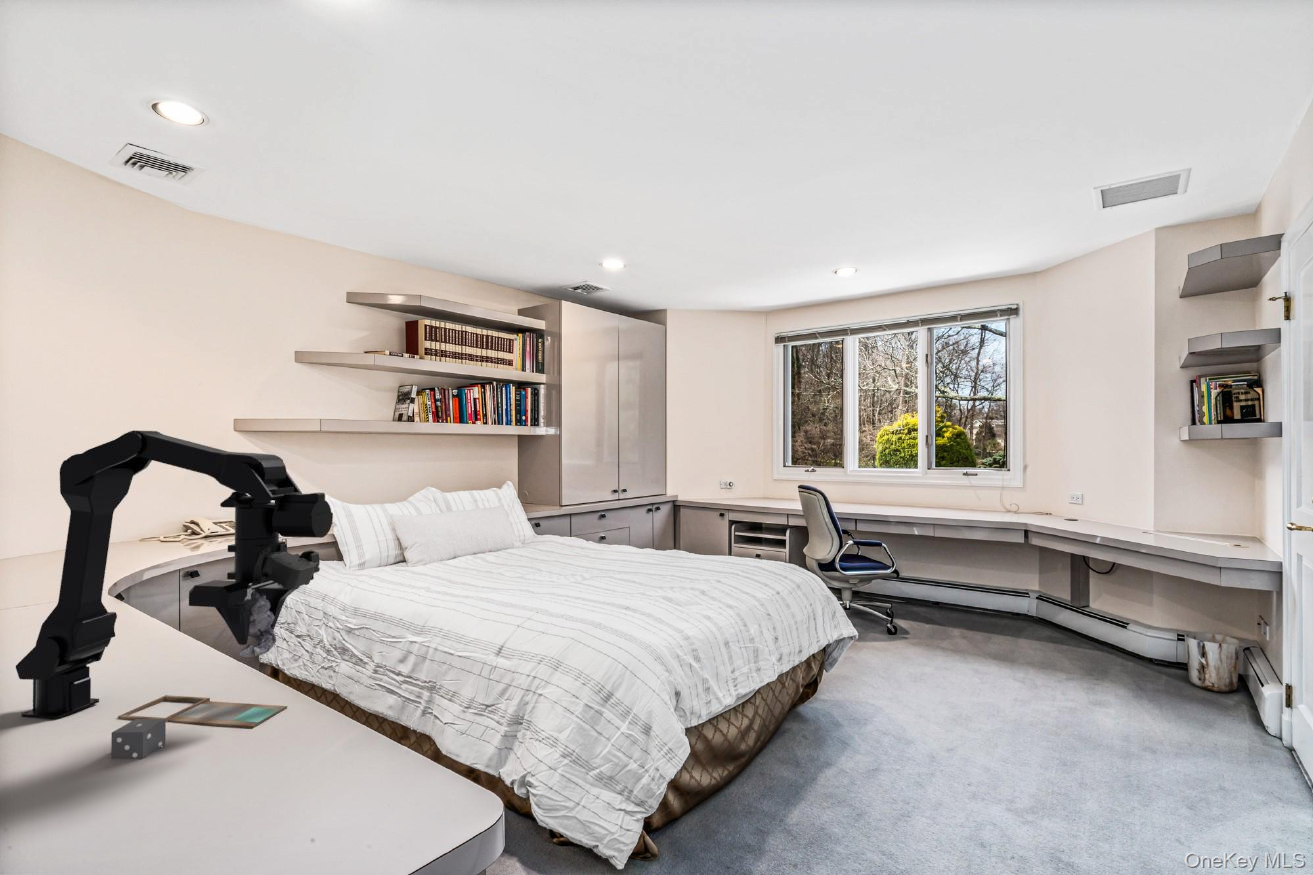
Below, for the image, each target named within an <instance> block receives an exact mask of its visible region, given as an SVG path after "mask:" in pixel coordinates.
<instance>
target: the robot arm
mask: <svg viewBox="0 0 1313 875" xmlns="http://www.w3.org/2000/svg"><path fill="white" fill-rule="evenodd" d="M152 461H153V462H158V463H160V464H161V463H162V464H165V465H167V466H168V465H170V466H172V467H177V468H180V469H185V470H187V471H191V472H195V473H198V474H199V473H200V474H203V475H206V476H209V477H210V478H211V477H212V478H213V479H214V480H215V481H217V482H218V483H219V485H221V486H223V487H225V488H228V489H230V490H232V492H231V493H230V495H229V497H227V498H226V499H224V500H223V501H221V502H220V504H219V506H220V507H221V508H232V509H233V508H234V543H233V544H232V543H231V544H228V545H227V553H234V562H233V563H234V565H233V566H234V570H232V571H229V572H227V574H226V575H227V576H226V579H227V580H222V579H221V580H216V579H214V580H211V581H210V580H209V581H207V582H203V583H199V584H195V585H194V586H193V587H192V588H191V589H190V590H189V591H188V606H189V607H199V608H200V607H201V608H203V607H206V608H215V609H216V611H217V613H218V614H219V615H220V616H221V618H222V619H223V620H224V622H225V624H226V625H227V627H228V629H229V630H230V632H231V634H232V635H233V637H234V639H235V641H236V642H237V644H238V645H240V646H241V645H242V646H245V645H248V641H249V636H248V635H249V624H250V611H251V609H252V608H253V606H254V605H255V604H256V603H257V602H258V601H259V599H251V593H252V591H253V590H255V591H256V592H257V593H258V594H259V593H262V594H264V595H265V596H266V600H268V601H269V603H270V606H271V607H270V609H269V610H270V611H271V612H272V613H273V615H274V617H275V618H274V621H273V623H272V624H271V625H270V626H271V629H273V631H274V630H275V628H276V624H277V622H278V619H279V616H280V614H281V612H282V609H283V607H284V604H285V603H286V599H287V598H288V597H290V595H292V593H294V592H295V591H296V590H298V589H299V588H300V587H301V586H308V585H309V584H310V583H311V581H312V580H314V579H315V577H314V575H315V574H316V573H319V572H320V570H321V569H320V563H321V562H320V553H319V551H315V550H314V549H308V550H305V551H303V552H302V553H300V554H299V553H291V552H288V545H287V543H286V541H285V540H284V541H281V540H280V536H281V537H283V538H314V539H315V538H325V536H327V535H328V533H329V532H330V531H331V528H332V525H333V520H334V514H333V512H332V508H331V506H330V503H329V502H328V501H327V500H326V494H325V492H312V493H302V491H301V489H300V488H299V487H298V485H297V483H295V481H294V479H293V478H292V477H291V475H290V474H289V473H288V471H287V467H286V465H285V464H286V463H285V462H284V459H282V458H281V457H280V456H278V455H276V454H269V453H255V452H239V451H238V452H237V451H227V450H224V449H220V448H216V447H213V446H209V445H205V444H200V443H196V442H193V441H189V440H186V439H181V438H178V437H175V436H174V437H173V436H170V435H166V434H164V433H161V432H159V431H157V430H129V431H127V432H125V433H123V434H122V435H120V436H119V437H117V438H115V439H111V440H110V441H108V442H105V443H102V444H99V445H97V446H95V447H91V448H90V449H89V448H88V449H87V450H85V451H84V452H82V453H75V454H73V455H71V456H69V457H68V458H67V459H64V460H63V461H62V463H61V464H60V468H59V492H60V495H61V497H62V499H63V500H64V502H65V504H66V505H67V507H68V508H69V510H70V515H69V522H68V528H67V529H68V530H67V535H66V536H67V537H66V544H65V552H64V559H63V565H62V566H63V567H62V573H61V579H60V588H59V593H58V595H59V596H58V602H57V604H56V606H55V607H54V608H53V609H52V611H51V612H50V614H49V615H48V616H47V617H46V619H45V620H44V621H43V622H42V624H41V626H40V629H39V633H38V636H37V639H36V642H35V646H34V647H33V648H32V649H31V650H30V651H29V652H28V653H27V654H26V655H25V656H24V657H23V658H22V659H21V660H20V661H19V662H18V663H17V664H16V665H15V670H16V673H17V676H18V678H19V680H27V681H28V680H30V681H31V680H32V708H31V709H29V710H26V711H24V712H21V716H20V717H21V718H22V717H23V718H32V719H33V718H34V719H48V720H49V719H50V720H58V719H61V718H63V717H66V716H68V715H71V714H74V713H77V712H78V711H81V710H84V709H86V708H88V707H90V706H93V705H96V704H97V703H100V698H91V694H92V692H91V691H92V687H91V686H92V678H91V676H90V670H91V669H90V666H88V665H90V664H93V663H95V662H100V661H101V660H102V658H103V655H104V652H105V649H106V648H108V646H109V645H110V643H111V640H112V638H115V637H116V632H115V631H116V630H115V626H116V621H117V619H118V614H117V612H116V611H110V612H109V611H108V610H107V608H106V606H105V605H104V603H103V602H102V596H103V591H104V583H105V578H106V576H105V575H106V569H107V561H108V553H109V547H110V538H111V531H112V525H113V520H114V519H113V518H114V517H113V516H114V513H115V510H116V509H117V507H119V505H120V503H122V501H123V500H124V498H126V496H127V495H128V493H129V491H130V487H131V483H132V481H133V478H134V476H136V475H137V474H139V473H140V472H142V471H144V470H146V469H147V468H148V467H149V465H150V464H151V463H152ZM273 501H274V502H273ZM274 632H275V631H274Z"/></svg>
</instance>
